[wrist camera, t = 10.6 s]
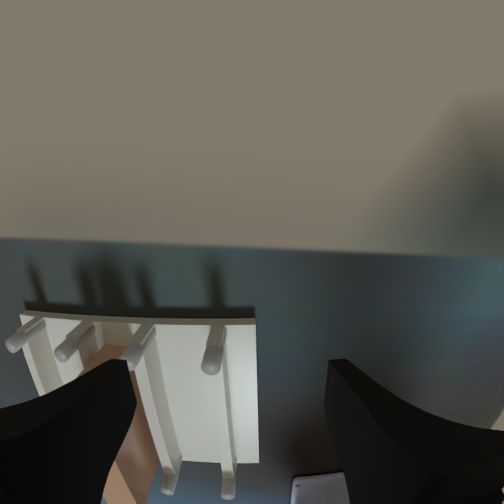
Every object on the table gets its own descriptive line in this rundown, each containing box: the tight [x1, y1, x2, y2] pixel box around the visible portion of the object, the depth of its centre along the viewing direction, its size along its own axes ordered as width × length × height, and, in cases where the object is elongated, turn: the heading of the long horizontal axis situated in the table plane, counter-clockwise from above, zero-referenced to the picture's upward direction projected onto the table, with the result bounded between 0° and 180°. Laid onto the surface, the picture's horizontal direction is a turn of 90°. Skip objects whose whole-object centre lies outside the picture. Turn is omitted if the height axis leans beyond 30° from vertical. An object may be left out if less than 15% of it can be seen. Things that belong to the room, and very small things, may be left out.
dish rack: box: [5, 310, 259, 500], centre depth 19 cm, size 13×18×5 cm
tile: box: [76, 344, 159, 504], centre depth 17 cm, size 10×2×7 cm, turn 2°
